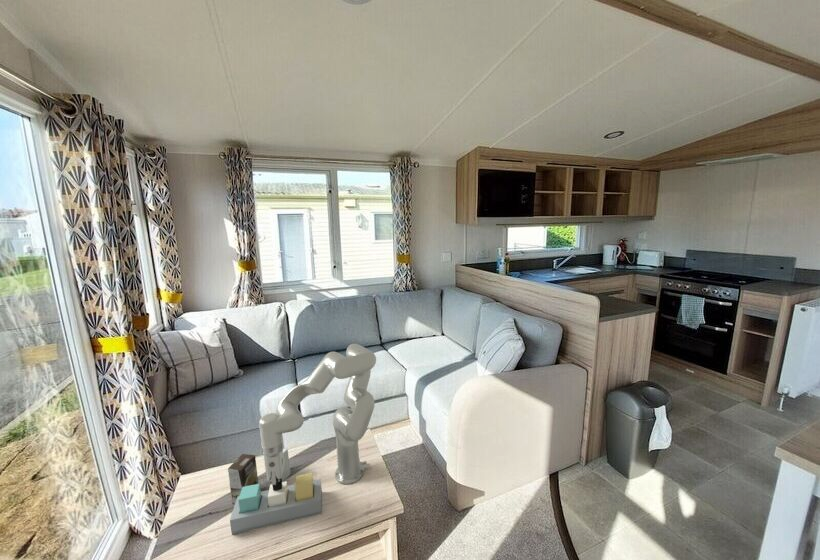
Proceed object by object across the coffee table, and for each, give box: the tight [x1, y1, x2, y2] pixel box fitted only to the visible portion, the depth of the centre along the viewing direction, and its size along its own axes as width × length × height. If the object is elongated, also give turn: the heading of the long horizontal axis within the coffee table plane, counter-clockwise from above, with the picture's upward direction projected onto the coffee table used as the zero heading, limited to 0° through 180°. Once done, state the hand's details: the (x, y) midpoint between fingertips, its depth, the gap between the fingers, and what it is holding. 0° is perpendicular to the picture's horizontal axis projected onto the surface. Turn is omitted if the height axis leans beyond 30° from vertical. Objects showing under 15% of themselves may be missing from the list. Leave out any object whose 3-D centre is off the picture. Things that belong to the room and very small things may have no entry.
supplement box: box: [263, 447, 291, 483], centre depth 146 cm, size 7×7×13 cm
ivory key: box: [268, 481, 288, 507], centre depth 128 cm, size 6×6×7 cm
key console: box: [229, 478, 323, 535], centre depth 128 cm, size 32×11×6 cm, turn 104°
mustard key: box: [295, 472, 314, 501], centre depth 130 cm, size 6×6×7 cm
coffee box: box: [227, 453, 260, 504], centre depth 136 cm, size 9×6×16 cm
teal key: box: [238, 483, 261, 514], centre depth 125 cm, size 6×6×7 cm
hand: (277, 488), depth 127 cm, fingers closed
